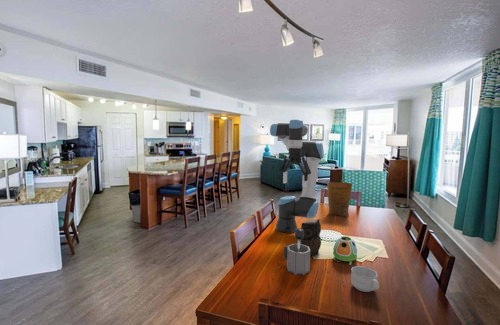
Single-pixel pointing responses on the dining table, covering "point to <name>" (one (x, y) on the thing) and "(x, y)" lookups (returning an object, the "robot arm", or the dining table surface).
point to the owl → (312, 236)
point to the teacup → (364, 279)
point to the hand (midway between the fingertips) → (294, 184)
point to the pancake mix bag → (339, 198)
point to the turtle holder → (345, 249)
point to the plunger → (299, 236)
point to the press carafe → (297, 259)
